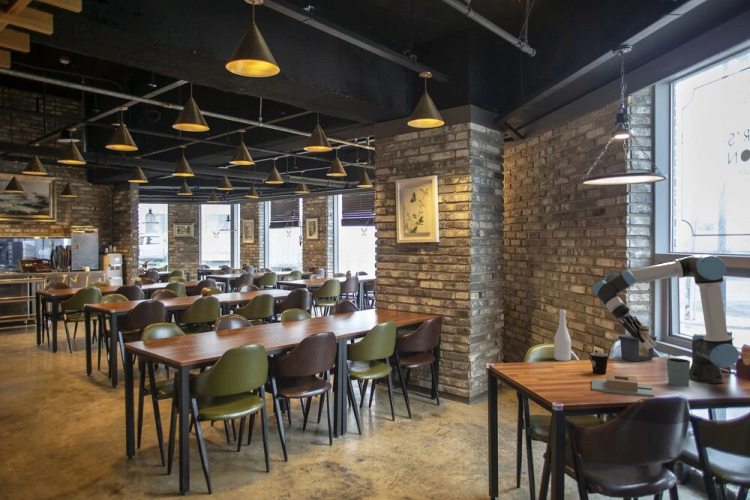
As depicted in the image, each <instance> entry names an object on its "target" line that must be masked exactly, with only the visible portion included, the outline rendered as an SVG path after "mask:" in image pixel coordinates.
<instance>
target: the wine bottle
mask: <svg viewBox="0 0 750 500" xmlns="http://www.w3.org/2000/svg"><path fill="white" fill-rule="evenodd" d="M558 312H559V313H558V314H559V323H558V327H557V330H556V332H555V336H554V339H553V357H554V360H556V361H558V362H559V361H560V362H561V361H562V362H568V361H570V360H571V359H572V340H571V336H570V333H569V330H568V327H567V324H566V323H567V322H566V321H567V320H566V314H567V311H566V309H559V311H558Z"/></svg>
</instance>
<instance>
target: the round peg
mask: <svg viewBox="0 0 750 500" xmlns="http://www.w3.org/2000/svg"><path fill="white" fill-rule="evenodd" d="M639 333H640V334H641V335H643V336H644V337H645V338H646V340H647V341H648V342H649V335H650V326H649V325H643V324H642V325H640V326H639ZM641 335H640V336H641ZM648 352H649V349H648V350H647V349H646V348H645V347H644V346H643V344H642V343H641V342H640V341H639V356H643V357H648Z"/></svg>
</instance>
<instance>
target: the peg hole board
mask: <svg viewBox="0 0 750 500" xmlns="http://www.w3.org/2000/svg"><path fill="white" fill-rule="evenodd" d="M605 376H606V377H605V378H606V379H596V378H591V391H594V392H604V393H614V394H622V395H623V394H624V395H631V396H641V397H642V396H643V397H650V398H652V397H651V396H654V397H655V393H654V391H653V389H652V384H645V383H638V380H637V376H634V375H625V374H614V373H606V374H605Z"/></svg>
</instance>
